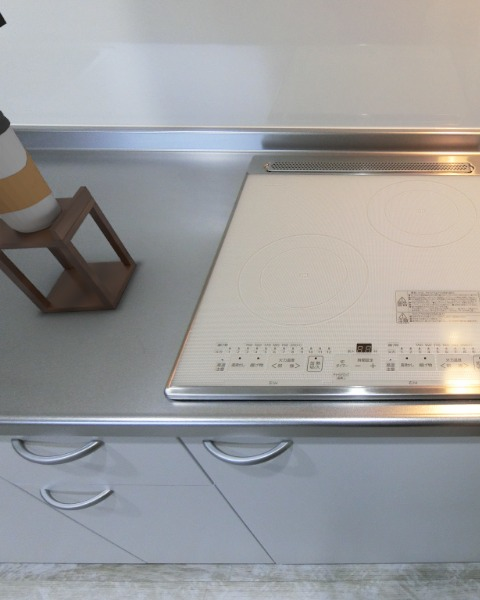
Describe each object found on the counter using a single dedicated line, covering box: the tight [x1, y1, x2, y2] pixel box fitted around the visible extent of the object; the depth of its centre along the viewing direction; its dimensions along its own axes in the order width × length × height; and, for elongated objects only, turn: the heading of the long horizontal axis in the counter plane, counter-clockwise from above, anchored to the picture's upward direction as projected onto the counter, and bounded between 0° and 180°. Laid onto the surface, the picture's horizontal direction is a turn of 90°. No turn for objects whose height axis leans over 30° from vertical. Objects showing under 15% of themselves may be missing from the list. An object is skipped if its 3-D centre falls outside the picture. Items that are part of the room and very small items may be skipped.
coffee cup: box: [0, 110, 61, 233], centre depth 55 cm, size 8×8×15 cm
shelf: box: [0, 185, 137, 314], centre depth 65 cm, size 11×10×16 cm
